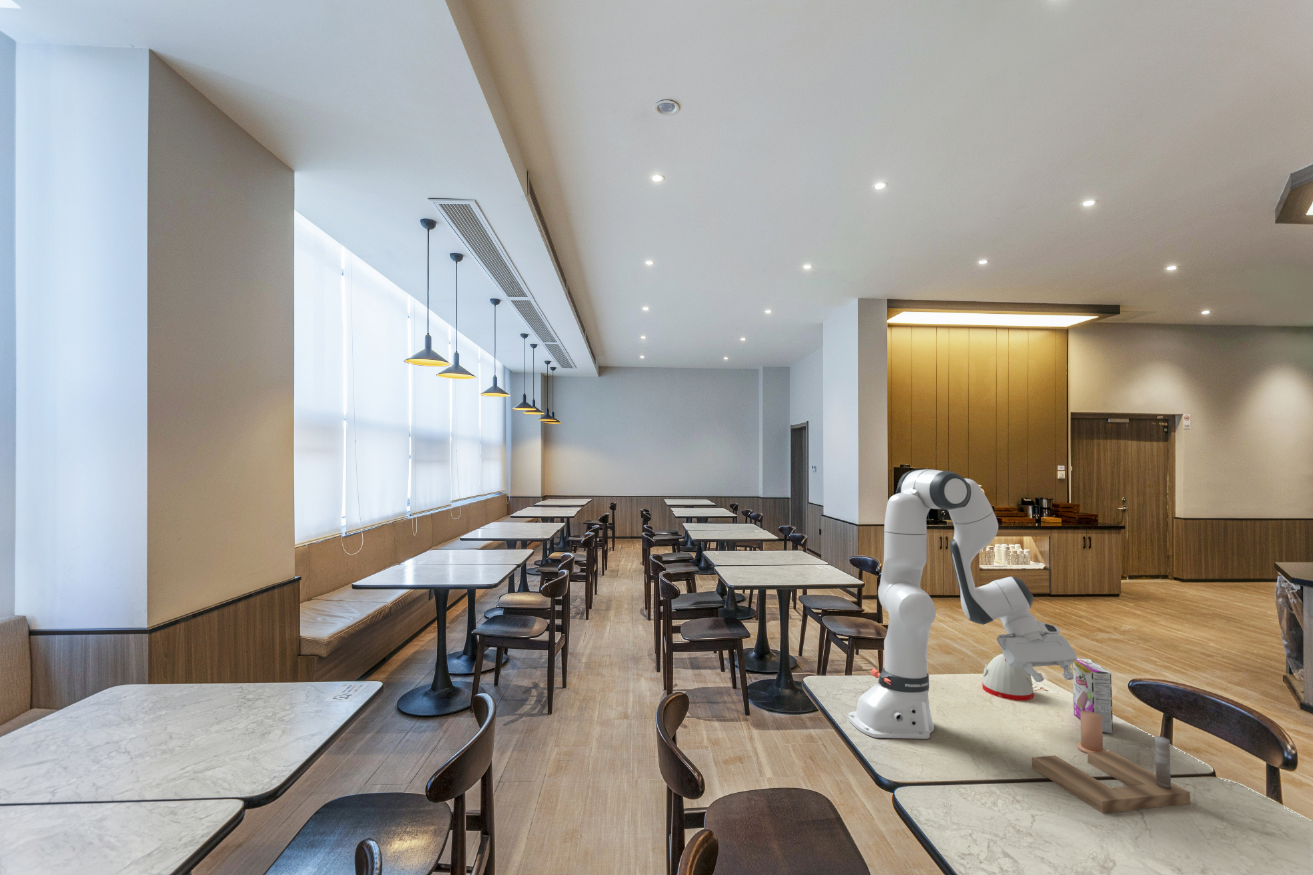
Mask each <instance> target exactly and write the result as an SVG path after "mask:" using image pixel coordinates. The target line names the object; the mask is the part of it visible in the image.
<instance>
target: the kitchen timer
mask: <svg viewBox="0 0 1313 875" xmlns="http://www.w3.org/2000/svg"><path fill="white" fill-rule="evenodd" d="M981 683H982V690H983V691H985V692H986V693H987V694H990V695H991V696H994V697H997V698H1000V699H1006V700H1010V701H1017V702H1018V701H1020V702H1021V701H1022V702H1023V701H1030V700H1033V698H1034V686H1033V680H1032V676H1031V675H1030V674H1028V673H1027V672H1026V671H1025V670H1024V668H1023V667H1019V668H1012V667H1011V666H1010V665H1009V664H1008V663H1007V661H1006V659H1005V657H1004V655H1003V653H1001V654H998V655H996V656H995V657H993V658H992V659H991V660H990V662H988V664H987V663H986V664H985V665H984V668H983V675H982V682H981Z"/></svg>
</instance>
